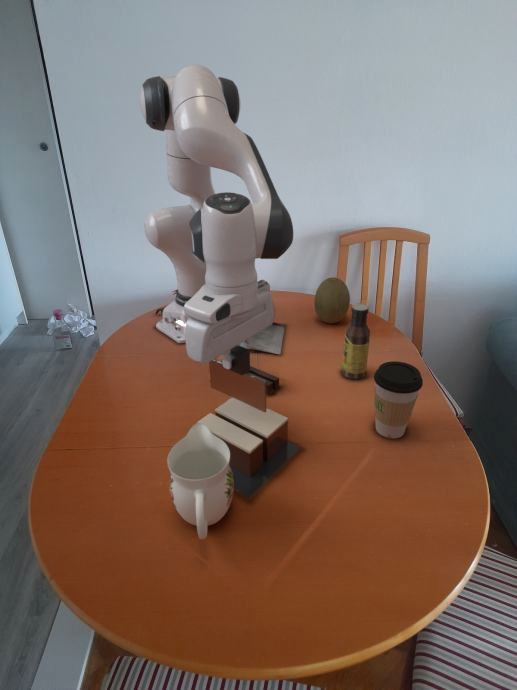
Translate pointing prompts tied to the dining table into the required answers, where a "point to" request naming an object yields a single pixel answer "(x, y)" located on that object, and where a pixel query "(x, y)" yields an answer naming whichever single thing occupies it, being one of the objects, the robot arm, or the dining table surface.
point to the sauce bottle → (356, 343)
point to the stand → (271, 380)
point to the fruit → (332, 300)
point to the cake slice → (237, 444)
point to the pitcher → (200, 478)
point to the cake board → (262, 472)
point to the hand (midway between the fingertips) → (235, 362)
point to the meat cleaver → (269, 339)
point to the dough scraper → (239, 379)
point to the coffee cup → (395, 396)
